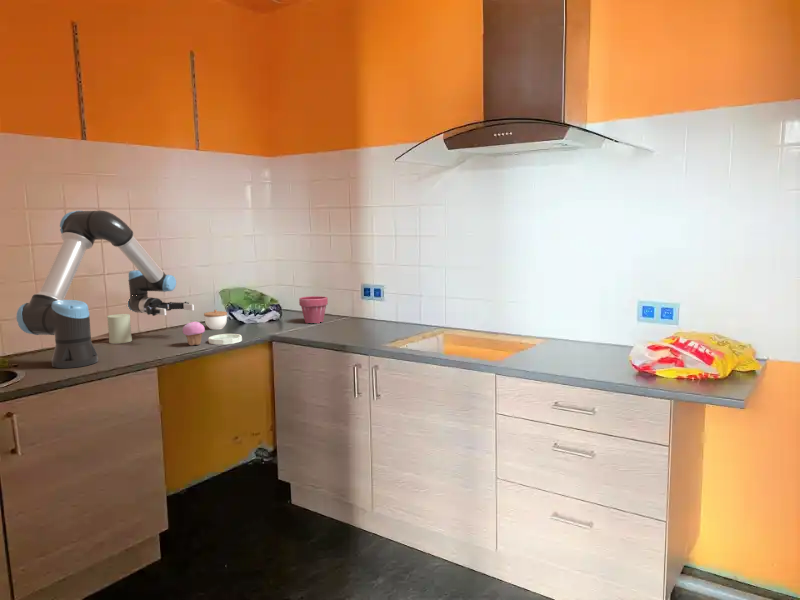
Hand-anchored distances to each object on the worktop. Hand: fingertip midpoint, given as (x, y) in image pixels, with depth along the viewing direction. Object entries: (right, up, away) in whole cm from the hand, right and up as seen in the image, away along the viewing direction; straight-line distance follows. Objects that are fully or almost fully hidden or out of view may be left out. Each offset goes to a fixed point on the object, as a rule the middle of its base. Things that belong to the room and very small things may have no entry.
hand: (179, 309), depth 258 cm
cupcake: (+8, -15, -4) cm, 18 cm away
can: (-28, -14, +6) cm, 32 cm away
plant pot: (+51, -7, +48) cm, 70 cm away
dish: (+19, -14, +2) cm, 24 cm away
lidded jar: (+5, -10, +34) cm, 36 cm away
